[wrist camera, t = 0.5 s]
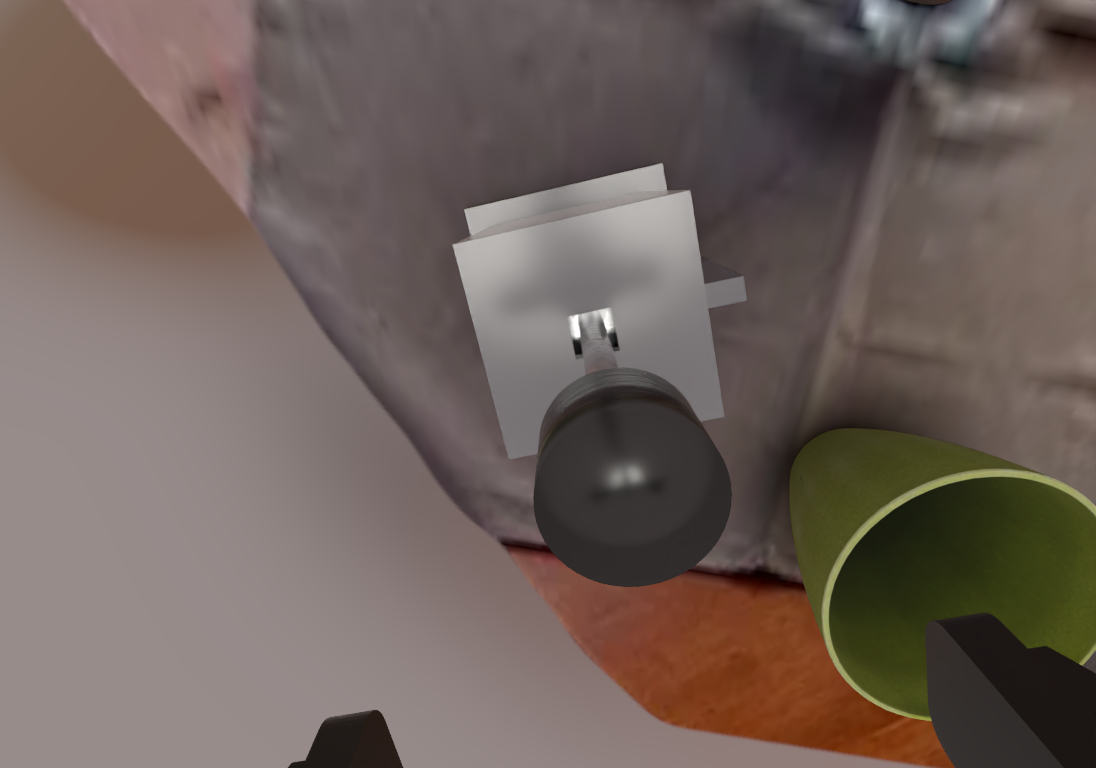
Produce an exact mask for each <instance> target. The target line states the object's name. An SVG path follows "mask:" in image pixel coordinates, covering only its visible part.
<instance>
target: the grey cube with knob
mask: <svg viewBox="0 0 1096 768" xmlns="http://www.w3.org/2000/svg"><path fill="white" fill-rule="evenodd" d="M464 211H465V215H466V219H467V223H468V227H469V231H470V235H471V236H469V237H467V238H465V239H463V240H461V241H459V242H457V243H455V244H453V248H454V251H455V255H456V259H457V263H458V267H459V271H460V274H461V278H462V282H463V286H464V290H465V293H466V297H467V301H468V305H469V309H470V313H471V316H472V320H473V324H474V328H475V332H476V335H477V339H478V343H479V347H480V351H481V355H482V358H483V362H484V366H485V370H486V374H487V378H488V381H489V385H490V389H491V393H492V397H493V400H494V404H495V408H496V412H497V416H498V420H499V423H500V427H501V431H502V435H503V439H504V442H505V446H506V450H507V454H508V458H509V459H515V458H520V457H525V456H530V455H535V454H538V443H539V433H540V428H541V424H542V421H543V418H544V416H545V414H546V412H547V410H548V408H549V406H550V405H551V403H552V402H553V400H554V399H555V398H556V397H557V395H558V394H559V393H560V392H561V391H562V390H563V389H564V388H566V387H567V386H568V385H570V384H571V383H572V382H574V381H575V380H577V379H579V378H581V377H582V376H584V375H585V369H584V361H583V354H580V355H575V350H574V345H573V341H572V336H571V331H570V327H569V322H568V318H567V317H569V316H573V315H578V314H583V313H587V312H592V311H596V310H601V309H606V308H610V307H611V311H612V316H613V321H614V327H615V332H616V337H617V342H618V347H613V351H614V354H615V357H616V360H617V363H618V366H619V367H627V368H636V369H640V370H644V371H648V372H650V373H653V374H656V375H658V376H660V377H661V378H663V379H665V380H667V381H668V382H669V383H671V384H672V385H674V386H675V387H676V388H677V389H678V390H679V391H680V392H681V393H682V394H683V395H684V397H685V398H686V399H687V401H688V402H689V404H690V405H691V407H692V409H693V410H694V412H695V414H696V415H697V417H698V418H699V420H700V422H701V421H706V420H711V419H716V418H721V417H724V411H723V404H722V398H721V391H720V384H719V378H718V371H717V364H716V358H715V351H714V344H713V338H712V331H711V324H710V318H709V311H708V309H709V308H714V307H718V306H723V305H728V304H733V303H737V302H742V301H747V298H746V290H745V282H744V276H743V275H741V274H739V273H736V272H734V271H732V270H730V269H728V268H725V267H723V266H721V265H719V264H717V263H715V262H712V261H710V260H708V259H706V258H704V257H701V256H700V251H699V244H698V238H697V231H696V224H695V218H694V211H693V204H692V198H691V191H690V190H667V187H666V181H665V175H664V169H663V163H661V164H657V165H652V166H648V167H644V168H640V169H635V170H631V171H627V172H623V173H618V174H614V175H610V176H605V177H601V178H597V179H593V180H588V181H584V182H580V183H576V184H571V185H567V186H563V187H558V188H554V189H550V190H546V191H541V192H537V193H533V194H528V195H524V196H520V197H516V198H511V199H507V200H503V201H499V202H494V203H490V204H486V205H481V206H477V207H473V208H469V209H464Z"/></svg>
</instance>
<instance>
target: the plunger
mask: <svg viewBox="0 0 1096 768" xmlns="http://www.w3.org/2000/svg"><path fill="white" fill-rule="evenodd" d="M567 318H568V322H569V327H570V331H571V336H572V341H573V345H574V350H575V355H580V354H583V361H584V369H585V375H584V376H582V377H581V378H579V379H577V380H575V381H574V382H572V383H571V384H570V385H568V386H567V387H566V388H564V389H563V390H562V391H561V392H560V393H559V394H558V395H557V397H556V398H555V399H554V400H553V402H552V403H551V405H550V406H549V408H548V410H547V412H546V414H545V416H544V418H543V421H542V424H541V428H540V433H539V443H538V454H537V465H536V476H535V487H534V512H535V517H536V522H537V525H538V528H539V531H540V533H541V535H542V537H543V539H544V541H545V542H546V544H547V545H548V547H549V548H550V550H551V551H552V552H553V553H554V554H555V555H556V557H557V558H558V559H559V560H560V561H562V562H563V563H564V564H565V565H566V566H567V567H569V568H570V569H572V570H573V571H575V572H576V573H578V574H580V575H582V576H584V577H586V578H588V579H591V580H594V581H597V582H599V583H603V584H608V585H613V586H622V587H638V586H646V585H652V584H656V583H660V582H663V581H666V580H669V579H672V578H674V577H676V576H678V575H680V574H682V573H684V572H686V571H687V570H689V569H690V568H692V567H693V566H695V565H696V564H697V563H698V562H699V561H701V560H702V559H703V558H704V557H705V556H706V555H707V554H708V553H709V552H710V551H711V550H712V548H713V547H714V545H715V544H716V543H717V541H718V540H719V538H720V536H721V534H722V532H723V531H724V529H725V526H726V523H727V520H728V517H729V513H730V508H731V497H732V493H731V482H730V478H729V474H728V470H727V468H726V465H725V463H724V460H723V458H722V457H721V455H720V453H719V451H718V450H717V448H716V446H715V445H714V443H713V442H712V440H711V438H710V437H709V435H708V433H707V432H706V430H705V428H704V427H703V425H702V423H701V422H700V420H699V418H698V417H697V415H696V414H695V412H694V410H693V409H692V407H691V405H690V404H689V402H688V401H687V399H686V398H685V397H684V395H683V394H682V393H681V392H680V391H679V390H678V389H677V388H676V387H675V386H674V385H672V384H671V383H669V382H668V381H667V380H665V379H663V378H661V377H660V376H658V375H656V374H653V373H650V372H648V371H644V370H640V369H636V368H627V367H619V366H618V363H617V360H616V357H615V354H614V351H613V347H618V342H617V337H616V332H615V327H614V321H613V316H612V311H611V307H610V308H606V309H601V310H596V311H592V312H587V313H583V314H578V315H573V316H569V317H567Z"/></svg>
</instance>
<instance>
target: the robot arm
mask: <svg viewBox="0 0 1096 768" xmlns="http://www.w3.org/2000/svg"><path fill="white" fill-rule="evenodd" d="M925 639H926V665H927V691H928V708H929V713H930V717H931V720H932V724H933V727H934V729H935V732H936V734H937V737H938V739H939V741H940V743H941V745H942V747H943V749H944V751H945V752H946V754H947V756H948V757H949V759H950V760H951V762H952V763H953V765H954V766H955V768H1096V673H1094V672H1093V671H1091V670H1089V669H1087V668H1085V667H1084V666H1082V665H1080V664H1078V663H1076V662H1075V661H1073V660H1071V659H1069V658H1067V657H1066V656H1064V655H1062V654H1060V653H1058V652H1057V651H1055V650H1053V649H1051V648H1050V647H1048V646H1042V647H1035V648H1029V649H1028V648H1027V647H1026V646H1025V645H1024V644H1023V643H1022V642H1021V641H1020V640H1019V639H1018V638H1017V637H1016V636H1015V635H1014V634H1013V633H1012V632H1011V631H1010V630H1009V629H1008V628H1007V627H1006V626H1005V625H1004V624H1003V623H1002V622H1001V621H1000V620H998V619H997V618H996V617H995V616H993V615H992V614H989V613H985V612H984V613H977V614H971V615H965V616H959V617H953V618H947V619H941V620H935V621H930V622H928V623H927V626H926V630H925ZM288 768H403V766H402V763H401V761H400V758H399V756H398V753H397V750H396V748H395V745H394V742H393V740H392V737H391V735H390V732H389V729H388V727H387V724H386V721H385V719H384V717H383V715H382V714H381V713H380V712H379V711H378V710H372V711H366V712H359V713H354V714H347V715H342V716H335V717H330V718H327V719H326V720H325V721H324V722H323V723H322V725H321V727H320V729H319V731H318V733H317V735H316V738H315V740H314V742H313V744H312V747H311V750H310V751H309V754H308V756H307V758H306V761H300V762H294V763H291V764H290V766H289V767H288Z"/></svg>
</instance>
